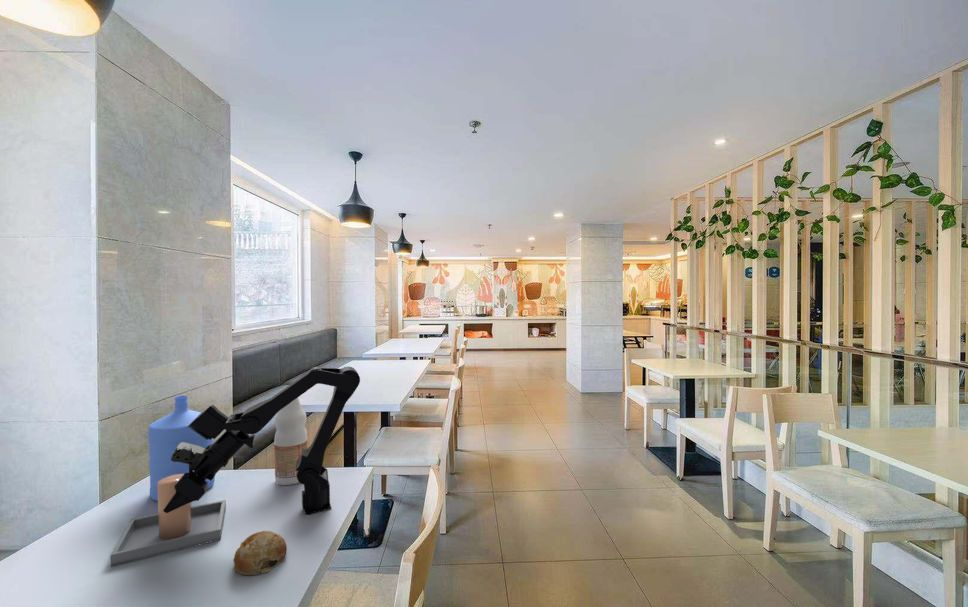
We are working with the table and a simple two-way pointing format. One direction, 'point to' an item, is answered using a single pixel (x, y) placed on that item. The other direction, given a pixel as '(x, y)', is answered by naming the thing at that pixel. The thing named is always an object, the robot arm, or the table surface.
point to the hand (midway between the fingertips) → (170, 502)
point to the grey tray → (146, 542)
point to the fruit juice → (289, 441)
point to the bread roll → (260, 553)
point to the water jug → (172, 443)
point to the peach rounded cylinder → (177, 519)
